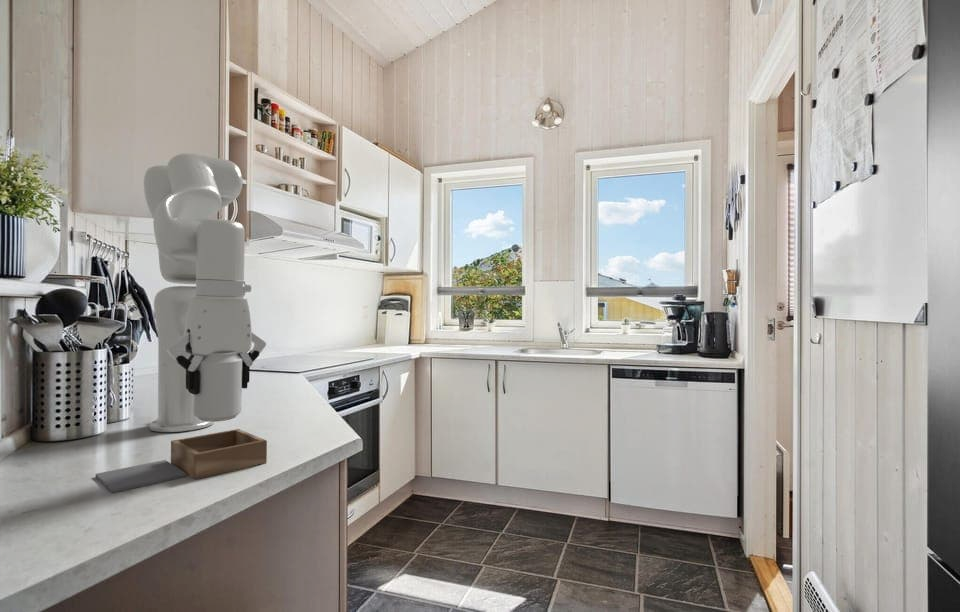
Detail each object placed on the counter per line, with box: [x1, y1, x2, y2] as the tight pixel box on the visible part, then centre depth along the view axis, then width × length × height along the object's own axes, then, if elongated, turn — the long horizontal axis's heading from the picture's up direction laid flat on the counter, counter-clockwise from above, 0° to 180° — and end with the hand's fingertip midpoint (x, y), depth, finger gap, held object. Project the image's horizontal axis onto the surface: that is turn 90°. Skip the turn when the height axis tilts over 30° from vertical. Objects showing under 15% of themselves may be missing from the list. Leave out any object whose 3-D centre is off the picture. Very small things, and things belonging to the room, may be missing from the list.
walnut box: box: [170, 428, 268, 480], centre depth 90 cm, size 12×12×4 cm
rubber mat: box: [95, 459, 187, 494], centre depth 82 cm, size 10×10×1 cm
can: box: [194, 352, 243, 423], centre depth 90 cm, size 8×8×12 cm
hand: (218, 389), depth 90 cm, fingers closed on can, 7 cm apart
